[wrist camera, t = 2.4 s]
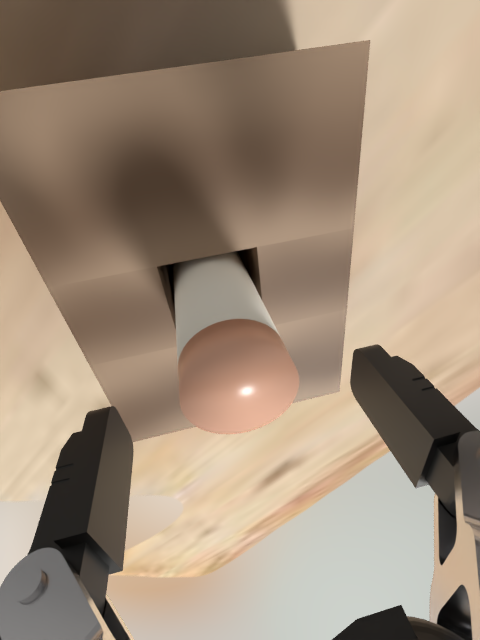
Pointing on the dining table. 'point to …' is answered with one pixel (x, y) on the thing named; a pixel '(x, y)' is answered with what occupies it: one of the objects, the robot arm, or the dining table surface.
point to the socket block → (190, 207)
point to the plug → (228, 348)
